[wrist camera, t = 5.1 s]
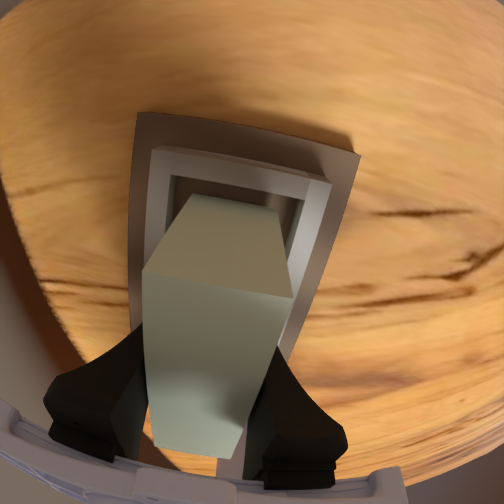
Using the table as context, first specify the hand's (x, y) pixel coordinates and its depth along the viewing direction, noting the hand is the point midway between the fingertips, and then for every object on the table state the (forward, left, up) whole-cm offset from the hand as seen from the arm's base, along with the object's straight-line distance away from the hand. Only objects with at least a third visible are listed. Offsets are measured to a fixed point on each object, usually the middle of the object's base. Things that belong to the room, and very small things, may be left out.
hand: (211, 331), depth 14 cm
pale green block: (0, 0, -3) cm, 3 cm away
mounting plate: (0, 0, -4) cm, 4 cm away
